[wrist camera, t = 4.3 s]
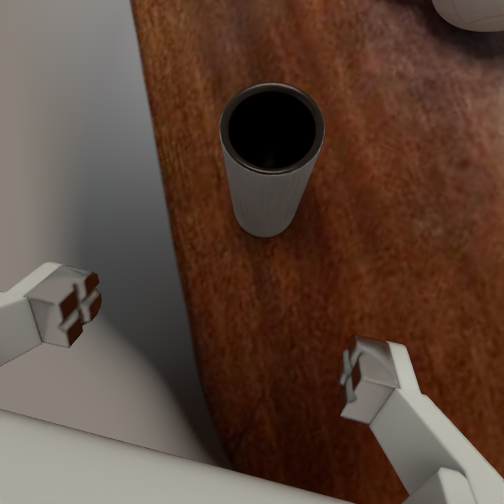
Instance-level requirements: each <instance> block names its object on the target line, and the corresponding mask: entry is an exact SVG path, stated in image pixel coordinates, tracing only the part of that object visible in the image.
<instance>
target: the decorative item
mask: <svg viewBox="0 0 504 504" xmlns="http://www.w3.org/2000/svg"><path fill="white" fill-rule="evenodd" d="M432 3H433V5H434V7H435V9H436V11H437V12H438V13H439V15H440V16H441V17H442V18H443V19H444V20H446V21H447V22H448V23H450V24H452V25H454V26H456V27H458V28H462V29H465V30H470V31H477V32H494V31H504V0H432Z"/></svg>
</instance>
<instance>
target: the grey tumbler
mask: <svg viewBox="0 0 504 504" xmlns="http://www.w3.org/2000/svg"><path fill="white" fill-rule="evenodd" d="M219 130H220V139H221V145H222V150H223V155H224V161H225V166H226V171H227V177H228V182H229V187H230V193H231V198H232V203H233V209H234V213H235V216H236V219H237V221H238V223H239V225H240V226H241V227H242V228H243V229H244V230H245V231H246V232H248V233H250V234H252V235H254V236H258V237H271V236H275V235H277V234H279V233H281V232H283V231H284V230H285V229H286V228H287V227H288V226H289V225H290V223H291V221H292V220H293V217H294V215H295V212H296V210H297V207H298V205H299V202H300V200H301V197H302V195H303V192H304V190H305V187H306V184H307V182H308V179H309V177H310V174H311V172H312V169H313V167H314V164H315V162H316V159H317V156H318V154H319V151H320V149H321V146H322V143H323V140H324V134H325V125H324V119H323V116H322V113H321V111H320V109H319V107H318V105H317V104H316V103H315V101H314V100H313V99H312V98H311V97H310V96H309V95H308V94H307V93H305V92H304V91H302V90H301V89H299V88H297V87H295V86H293V85H290V84H287V83H282V82H261V83H257V84H254V85H251V86H248V87H246V88H244V89H243V90H241V91H240V92H238V93H237V94H236V95H235V96H234V97H233V98H232V99H231V100H230V101H229V102H228V104H227V105H226V107H225V109H224V111H223V113H222V116H221V119H220V127H219Z"/></svg>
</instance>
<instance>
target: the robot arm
mask: <svg viewBox="0 0 504 504" xmlns="http://www.w3.org/2000/svg"><path fill="white" fill-rule="evenodd" d="M98 284H99V279H98V275H97V274H96V273H94V272H90V271H86V270H82V269H79V268H75V267H71V266H67V265H62V264H58V263H55V262H51V261H50V262H46V263H44V264H42V265H41V266H40V267H38V268H37V269H36V270H34V271H33V272H32V273H30V274H29V275H28V276H26V277H25V278H24V279H22V280H21V281H20V282H19V283H17V284H16V285H15V286H13V287H12V288H11V289H9V290H8V291H7V292H0V366H2V365H4V364H6V363H8V362H10V361H11V360H13V359H15V358H17V357H19V356H20V355H22V354H24V353H26V352H28V351H29V350H31V349H33V348H35V347H37V346H39V345H41V344H42V342H43V343H48V344H52V345H57V346H61V347H66V348H70V346H71V345H72V344H73V343H74V342H75V340H76V339H77V338H78V337H79V336H80V334H81V333H82V332H83V327H82V325H84V324H87V323H89V322H91V321H92V320H93V319H94V318H95V316H96V315H97V313H98V311H99V309H100V306H101V293H100V292H99V291H98V289H97V288H96V286H97V285H98ZM347 344H348V349H347V350H345V351H343V352H342V354H341V356H340V359H339V363H338V368H337V380H338V383H339V384H340V386H341V387H342V390H341V392H340V394H339V406H340V417H344V418H348V419H351V420H355V421H358V422H362V423H365V424H369V427H370V429H371V430H372V432H373V434H374V435H375V437H376V439H377V441H378V442H379V444H380V446H381V447H382V449H383V451H384V452H385V454H386V456H387V458H388V459H389V461H390V463H391V464H392V466H393V468H394V469H395V471H396V473H397V475H398V476H399V478H400V480H401V481H402V483H403V485H404V487H405V488H406V490H407V492H408V493H409V495H410V496H409V497H408V498H407V499H406V500H405V501H403V502H402V503H401V504H504V479H503V478H502V477H501V476H500V475H499V474H498V473H497V471H496V470H495V469H494V468H493V467H492V466H491V465H490V464H489V463H488V462H487V461H486V459H485V458H484V457H483V456H482V455H481V454H480V453H479V452H478V451H477V450H476V449H475V448H474V446H473V445H472V444H471V443H470V442H469V441H468V440H467V439H466V438H465V437H464V436H463V435H462V433H461V432H460V431H459V430H458V429H457V428H456V427H455V426H454V425H453V424H452V423H451V421H450V420H449V419H448V418H447V417H446V416H445V415H444V414H443V413H442V412H441V411H440V410H439V408H438V407H437V406H436V405H435V404H434V403H433V402H432V401H431V400H430V399H429V398H428V397H427V395H423V394H421V392H420V389H419V386H418V383H417V380H416V377H415V374H414V371H413V368H412V365H411V361H410V358H409V355H408V352H407V349H406V347H405V346H404V345H402V344H397V343H393V342H388V341H383V340H379V339H375V338H370V337H366V336H361V335H357V334H352V335H351V336H350V338H349V340H348V342H347ZM0 504H355V503H352V502H348V501H344V500H340V499H337V498H333V497H329V496H325V495H322V494H318V493H314V492H310V491H307V490H303V489H299V488H295V487H292V486H288V485H284V484H280V483H277V482H273V481H269V480H265V479H262V478H258V477H254V476H250V475H247V474H243V473H239V472H235V471H232V470H228V469H224V468H220V467H217V466H213V465H209V464H205V463H202V462H198V461H194V460H190V459H186V458H183V457H179V456H175V455H172V454H168V453H164V452H160V451H157V450H153V449H149V448H145V447H141V446H138V445H134V444H130V443H126V442H123V441H119V440H115V439H111V438H107V437H104V436H100V435H96V434H93V433H88V432H85V431H81V430H78V429H74V428H70V427H66V426H62V425H59V424H55V423H51V422H47V421H44V420H40V419H36V418H32V417H29V416H25V415H21V414H17V413H13V412H10V411H6V410H2V409H0Z"/></svg>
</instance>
